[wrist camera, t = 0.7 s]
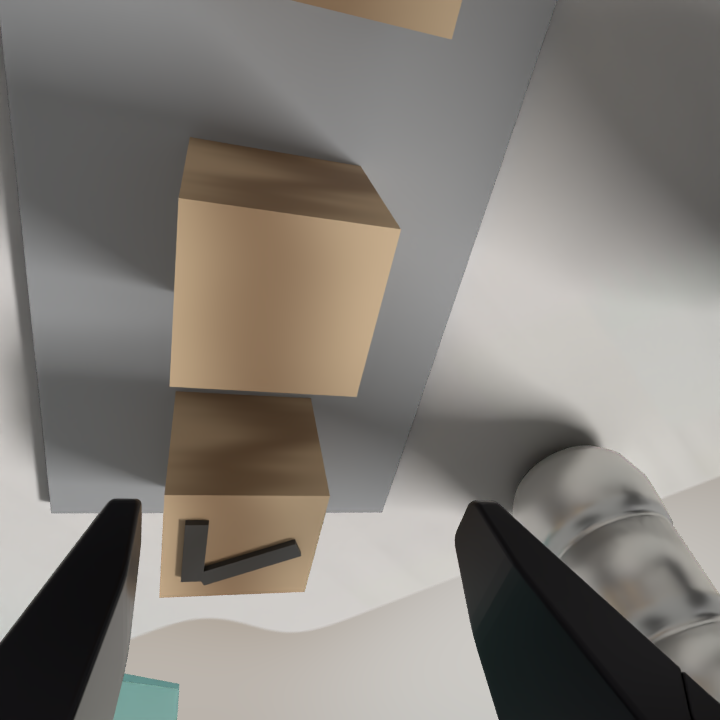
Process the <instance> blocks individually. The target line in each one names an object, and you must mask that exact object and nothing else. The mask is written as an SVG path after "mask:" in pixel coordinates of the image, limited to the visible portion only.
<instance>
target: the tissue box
mask: <svg viewBox="0 0 720 720" xmlns="http://www.w3.org/2000/svg"><path fill="white" fill-rule="evenodd" d="M178 695H179V684H178V683H172V682H167V681H162V680H157V679H151V678H145V677H141V676H135V675H130V674H125V673H124V676H123V681H122V685H121V689H120V693H119V697H118V702H117V706H116V710H115V714H114V718H113V720H177V712H178V697H179V696H178Z"/></svg>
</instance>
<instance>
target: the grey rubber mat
mask: <svg viewBox="0 0 720 720" xmlns="http://www.w3.org/2000/svg"><path fill="white" fill-rule="evenodd" d="M556 3H557V0H462V3H461V7H460V10H459V14H458V18H457V22H456V25H455V29H454V33H453V37H452V40H451V39H447V38H443V37H439V36H435V35H431V34H427V33H423V32H419V31H415V30H411V29H406V28H402V27H398V26H394V25H390V24H386V23H382V22H378V21H374V20H370V19H366V18H361V17H357V16H353V15H349V14H345V13H341V12H337V11H333V10H329V9H325V8H321V7H317V6H312V5H308V4H304V3H300V2H296V1H292V0H0V25H1V34H2V44H3V53H4V63H5V73H6V82H7V92H8V102H9V111H10V121H11V130H12V140H13V150H14V159H15V169H16V179H17V188H18V198H19V208H20V217H21V227H22V236H23V246H24V256H25V265H26V275H27V285H28V294H29V304H30V313H31V323H32V333H33V342H34V352H35V362H36V371H37V381H38V390H39V400H40V410H41V419H42V429H43V439H44V448H45V458H46V467H47V477H48V487H49V496H50V506H51V513H100V512H101V510H102V509H103V508H104V506H105V505H106V504H107V503H108V502H109V501H110V500H112V499H116V498H127V499H139V500H140V501H141V504H142V513H164V494H165V485H166V476H167V466H168V457H169V448H170V439H171V430H172V421H173V412H174V402H175V393H176V391H181V392H200V393H219V394H238V395H257V396H276V397H294V398H311V401H312V406H313V411H314V417H315V422H316V427H317V432H318V437H319V442H320V447H321V452H322V458H323V463H324V468H325V473H326V478H327V483H328V488H329V493H330V498H329V502H328V505H327V509H326V513H341V512H382V511H383V508H384V505H385V502H386V499H387V496H388V493H389V490H390V488H391V485H392V482H393V479H394V476H395V473H396V470H397V467H398V464H399V461H400V458H401V455H402V453H403V450H404V447H405V444H406V441H407V438H408V435H409V432H410V429H411V426H412V423H413V420H414V418H415V415H416V412H417V409H418V406H419V403H420V400H421V397H422V394H423V391H424V388H425V385H426V383H427V380H428V377H429V374H430V371H431V368H432V365H433V362H434V359H435V356H436V353H437V350H438V347H439V345H440V342H441V339H442V336H443V333H444V330H445V327H446V324H447V321H448V318H449V315H450V312H451V310H452V307H453V304H454V301H455V298H456V295H457V292H458V289H459V286H460V283H461V280H462V277H463V275H464V272H465V269H466V266H467V263H468V260H469V257H470V254H471V251H472V248H473V245H474V242H475V240H476V237H477V234H478V231H479V228H480V225H481V222H482V219H483V216H484V213H485V210H486V207H487V205H488V202H489V199H490V196H491V193H492V190H493V187H494V184H495V181H496V178H497V175H498V172H499V169H500V167H501V164H502V161H503V158H504V155H505V152H506V149H507V146H508V143H509V140H510V137H511V134H512V132H513V129H514V126H515V123H516V120H517V117H518V114H519V111H520V108H521V105H522V102H523V99H524V97H525V94H526V91H527V88H528V85H529V82H530V79H531V76H532V73H533V70H534V67H535V64H536V62H537V59H538V56H539V53H540V50H541V47H542V44H543V41H544V38H545V35H546V32H547V29H548V26H549V24H550V21H551V18H552V15H553V12H554V9H555V6H556ZM190 137H193V138H198V139H204V140H210V141H216V142H222V143H228V144H234V145H240V146H245V147H251V148H257V149H263V150H269V151H275V152H281V153H287V154H292V155H298V156H304V157H310V158H316V159H322V160H328V161H334V162H339V163H345V164H351V165H357V166H361V167H362V169H363V171H364V172H365V174H366V175H367V177H368V178H369V180H370V182H371V183H372V185H373V186H374V188H375V189H376V191H377V193H378V194H379V196H380V197H381V199H382V200H383V202H384V203H385V205H386V207H387V208H388V210H389V211H390V213H391V214H392V216H393V218H394V219H395V221H396V222H397V224H398V225H399V227H400V229H401V232H400V235H399V239H398V243H397V247H396V250H395V254H394V258H393V262H392V265H391V269H390V273H389V277H388V280H387V284H386V288H385V292H384V295H383V299H382V303H381V307H380V310H379V314H378V318H377V322H376V325H375V329H374V333H373V337H372V340H371V344H370V348H369V352H368V355H367V359H366V363H365V367H364V370H363V374H362V378H361V382H360V385H359V389H358V393H357V397H348V396H330V395H312V394H294V393H275V392H257V391H239V390H221V389H203V388H184V387H170V367H171V346H172V325H173V304H174V283H175V262H176V241H177V221H178V200H179V193H180V188H181V182H182V177H183V171H184V166H185V160H186V155H187V149H188V144H189V138H190Z"/></svg>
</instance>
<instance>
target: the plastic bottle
mask: <svg viewBox="0 0 720 720" xmlns="http://www.w3.org/2000/svg"><path fill="white" fill-rule="evenodd" d="M512 516H513V517H514V518H515V519H516V520H517V521H519V522H520V523H521V524H522V525H523V526H524V527H525V528H526V529H527V530H529V531H530V532H531V533H532V534H533V535H534V536H535V537H536V538H537V539H538V540H540V541H541V542H542V543H543V544H544V545H545V546H546V547H547V548H548V549H550V550H551V551H552V552H553V553H554V554H555V555H556V556H557V557H558V558H559V559H561V560H562V561H563V562H564V563H565V564H566V565H567V566H568V567H569V568H571V569H572V570H573V571H574V572H575V573H576V574H577V575H578V576H579V577H580V578H582V579H583V580H584V581H585V582H586V583H587V584H588V585H589V586H590V587H592V588H593V589H594V590H595V591H596V592H597V593H598V594H599V595H600V596H601V597H603V598H604V599H605V600H606V601H607V602H608V603H609V604H610V605H611V606H612V607H614V608H615V609H616V610H617V611H618V612H619V613H620V614H621V615H622V616H624V617H625V618H626V619H627V620H628V621H629V622H630V623H631V624H632V625H633V626H635V627H636V628H637V629H638V630H639V631H640V632H641V633H642V634H643V635H645V636H646V637H647V638H648V639H649V640H650V641H651V642H652V643H653V644H654V645H656V646H657V647H658V648H659V649H660V650H661V651H662V652H663V653H664V654H666V655H667V656H668V657H669V658H670V659H671V660H672V661H673V662H674V663H675V664H677V665H678V666H679V667H680V669H681V672H686V673H687V674H688V675H689V676H690V677H691V678H692V679H693V680H695V681H696V682H697V683H698V684H699V685H700V686H701V687H702V688H703V689H704V690H706V691H707V692H708V693H709V694H710V695H711V696H712V697H713V698H715V699H716V700H717V701H718V702H719V703H720V594H719V593H718V591H717V590H716V588H715V587H714V586H713V584H712V582H711V581H710V579H709V578H708V576H707V575H706V574H705V572H704V571H703V569H702V568H701V566H700V565H699V563H698V562H697V560H696V559H695V557H694V556H693V554H692V553H691V551H690V550H689V548H688V547H687V545H686V544H685V542H684V541H683V539H682V538H681V536H680V535H679V534H678V532H677V530H676V529H675V527H674V526H673V522H672V519H671V518H670V515H669V513H668V511H667V509H666V507H665V505H664V504H663V502H662V500H661V499H660V497H659V496H658V494H657V492H656V491H655V489H654V487H653V486H652V484H651V482H650V481H649V479H648V478H647V476H646V475H645V474H644V473H642V472H641V471H640V470H639V469H638V468H637V467H635V466H634V465H633V464H632V463H631V462H630V461H628V460H627V459H626V458H625V457H623V456H622V455H621V454H620V453H617V452H615V451H612V450H609V449H605V448H601V447H597V446H590V445H584V446H575V447H570V448H567V449H564V450H561V451H558V452H556V453H554V454H552V455H550V456H548V457H546V458H545V459H543V460H542V461H540V462H539V463H538V464H536V465H535V466H534V467H533V468H532V469H531V470H530V471H529V472H528V473H527V474H526V475H525V476H524V477H523V479H522V481H521V482H520V484H519V485H518V488H517V490H516V493H515V498H514V503H513V509H512Z"/></svg>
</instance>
